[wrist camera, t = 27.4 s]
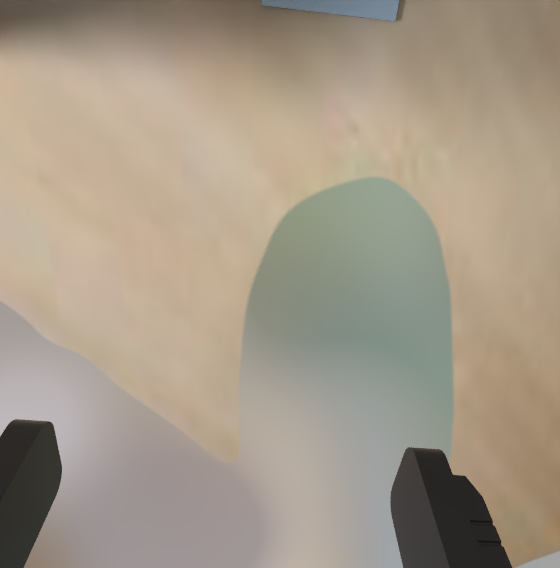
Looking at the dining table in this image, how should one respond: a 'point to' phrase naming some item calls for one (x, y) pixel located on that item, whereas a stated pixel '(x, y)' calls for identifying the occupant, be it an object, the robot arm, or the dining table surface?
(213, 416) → the dining table surface
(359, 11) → the pad
